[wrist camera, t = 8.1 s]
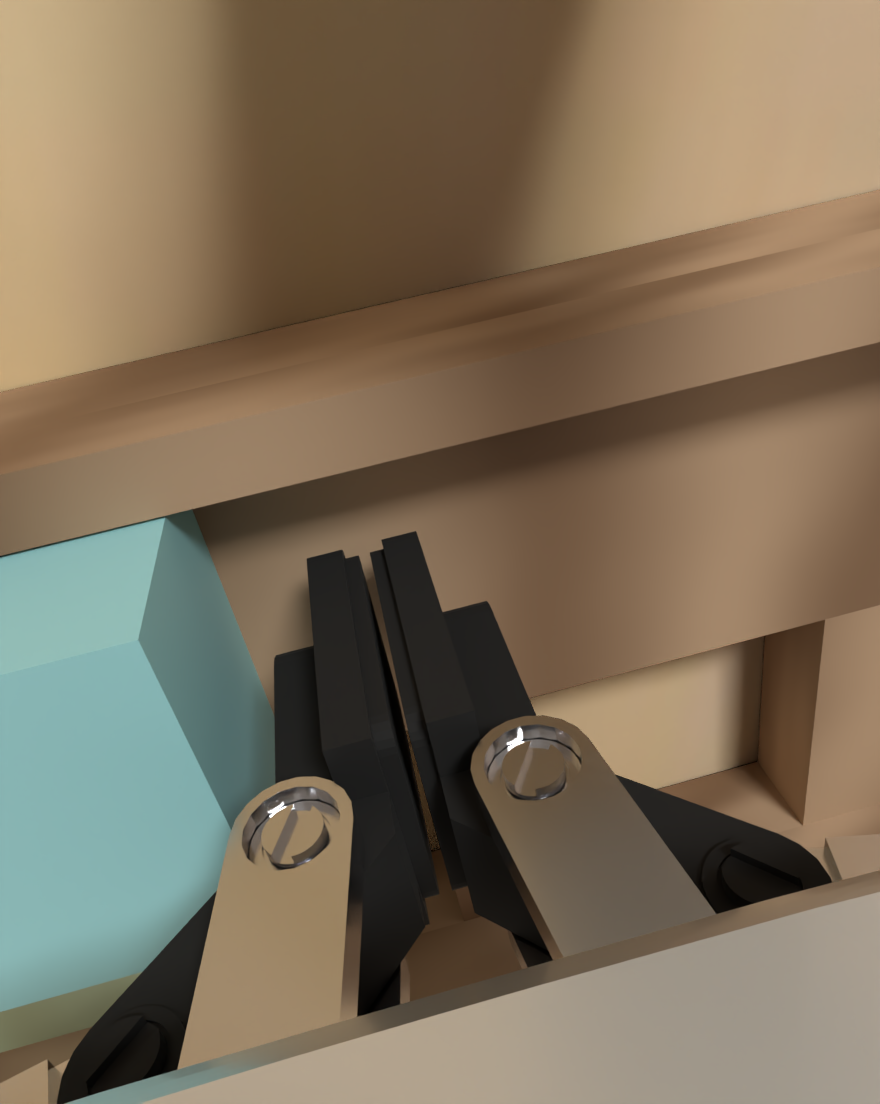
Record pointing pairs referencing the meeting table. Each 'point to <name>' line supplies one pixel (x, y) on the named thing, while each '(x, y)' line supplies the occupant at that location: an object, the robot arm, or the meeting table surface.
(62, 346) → the meeting table surface
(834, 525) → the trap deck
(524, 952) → the robot arm
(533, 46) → the meeting table surface
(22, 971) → the block
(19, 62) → the meeting table surface
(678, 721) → the meeting table surface
